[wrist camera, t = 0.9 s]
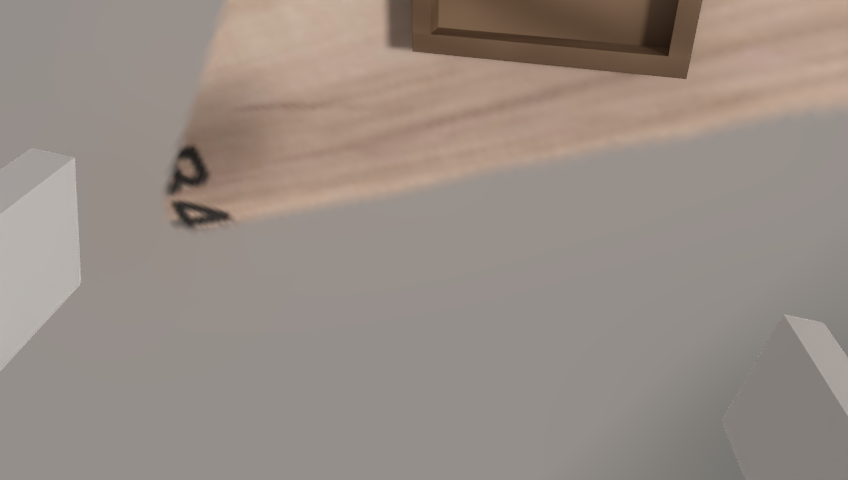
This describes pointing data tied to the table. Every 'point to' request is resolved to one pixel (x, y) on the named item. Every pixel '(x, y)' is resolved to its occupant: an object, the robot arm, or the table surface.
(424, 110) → the table surface
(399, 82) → the table surface
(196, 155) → the table surface
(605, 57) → the walnut tray
